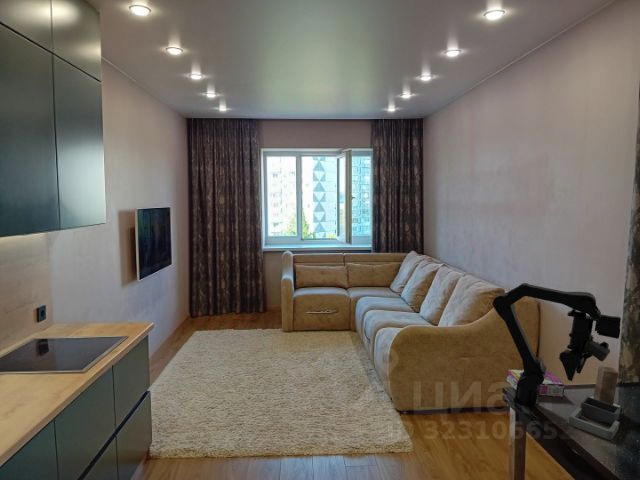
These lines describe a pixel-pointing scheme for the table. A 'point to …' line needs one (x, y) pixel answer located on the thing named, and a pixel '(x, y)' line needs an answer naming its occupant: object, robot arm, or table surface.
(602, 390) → the walnut block
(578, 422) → the grey shallow tray
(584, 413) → the trap bin
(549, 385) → the candy bar box
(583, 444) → the table surface
